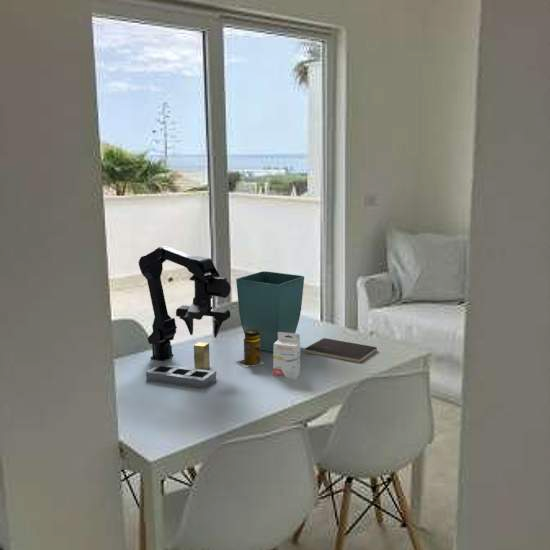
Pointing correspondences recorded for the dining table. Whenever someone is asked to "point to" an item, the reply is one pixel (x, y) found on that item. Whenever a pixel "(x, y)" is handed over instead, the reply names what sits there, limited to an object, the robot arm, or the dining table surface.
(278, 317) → the flower pot
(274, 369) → the ink cartridge box
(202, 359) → the brass peg
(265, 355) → the dining table surface
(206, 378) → the gray socket block
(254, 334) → the condiment
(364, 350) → the hardcover book
